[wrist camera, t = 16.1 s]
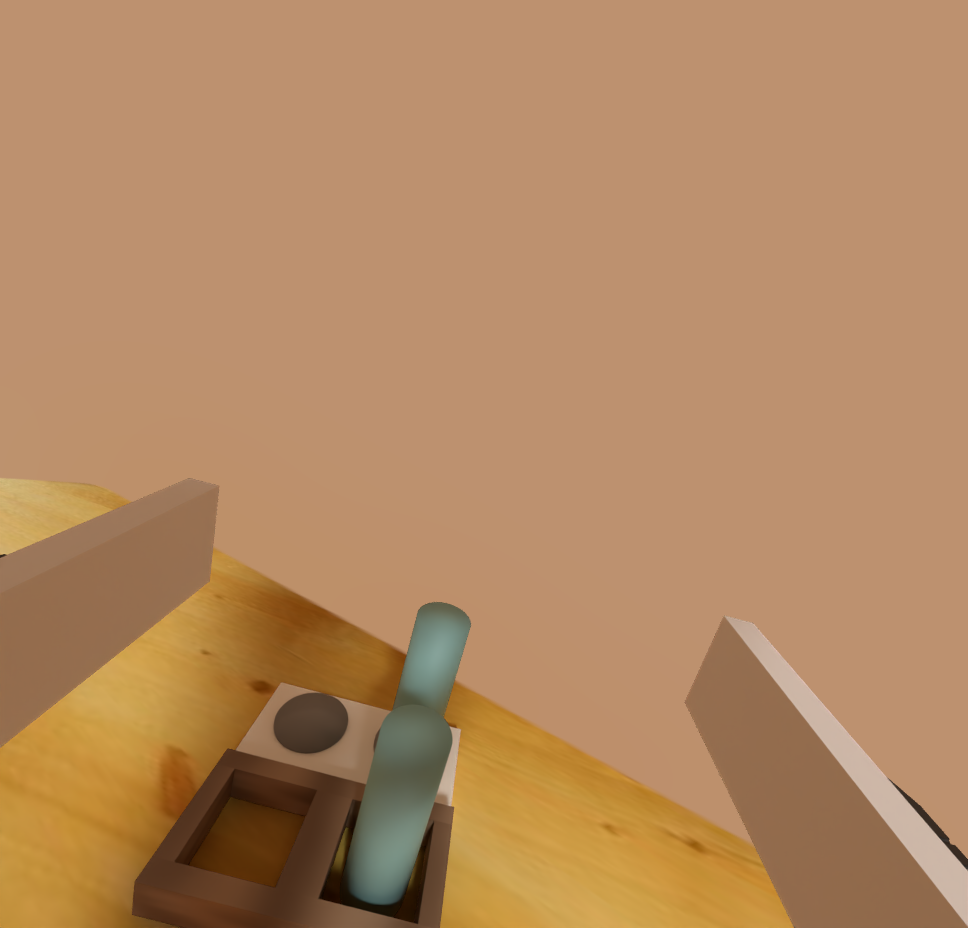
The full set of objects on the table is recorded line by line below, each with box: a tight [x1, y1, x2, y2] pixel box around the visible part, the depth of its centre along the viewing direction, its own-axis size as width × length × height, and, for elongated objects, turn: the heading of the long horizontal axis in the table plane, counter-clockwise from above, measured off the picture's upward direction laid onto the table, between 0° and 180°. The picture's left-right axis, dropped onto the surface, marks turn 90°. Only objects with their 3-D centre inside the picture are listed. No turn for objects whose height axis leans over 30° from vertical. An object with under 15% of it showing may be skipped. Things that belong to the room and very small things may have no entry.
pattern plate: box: [236, 682, 461, 806], centre depth 36 cm, size 16×8×1 cm, turn 85°
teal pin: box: [340, 705, 453, 917], centre depth 26 cm, size 4×4×12 cm
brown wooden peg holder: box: [132, 749, 454, 928], centre depth 28 cm, size 16×8×2 cm, turn 85°
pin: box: [392, 602, 471, 718], centre depth 35 cm, size 4×4×12 cm
